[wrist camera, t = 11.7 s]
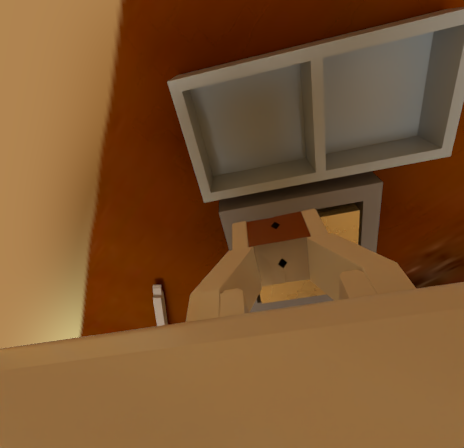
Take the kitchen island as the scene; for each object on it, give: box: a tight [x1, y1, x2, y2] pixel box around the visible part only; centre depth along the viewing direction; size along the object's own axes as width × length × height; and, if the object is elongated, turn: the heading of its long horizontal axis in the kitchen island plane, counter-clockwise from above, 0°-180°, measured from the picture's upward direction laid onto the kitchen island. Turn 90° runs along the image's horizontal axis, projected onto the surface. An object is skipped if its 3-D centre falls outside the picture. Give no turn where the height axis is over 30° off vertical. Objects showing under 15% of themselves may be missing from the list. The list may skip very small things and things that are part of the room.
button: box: [260, 203, 360, 304], centre depth 29 cm, size 10×10×4 cm
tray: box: [167, 7, 464, 203], centre depth 22 cm, size 20×10×4 cm, turn 102°
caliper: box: [153, 285, 168, 326], centre depth 37 cm, size 20×1×6 cm, turn 1°
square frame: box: [219, 171, 383, 313], centre depth 29 cm, size 14×14×4 cm
